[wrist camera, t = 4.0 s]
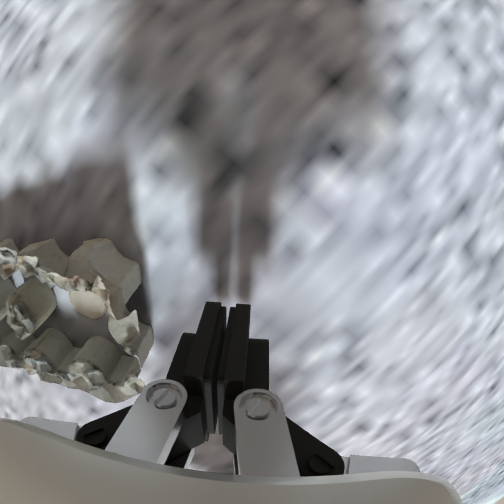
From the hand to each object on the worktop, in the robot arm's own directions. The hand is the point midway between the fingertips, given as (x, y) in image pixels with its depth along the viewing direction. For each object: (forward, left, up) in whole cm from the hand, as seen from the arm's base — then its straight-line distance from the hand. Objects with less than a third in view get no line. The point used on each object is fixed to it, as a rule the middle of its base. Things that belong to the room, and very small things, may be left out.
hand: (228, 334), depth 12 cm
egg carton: (+9, +1, -2) cm, 9 cm away
